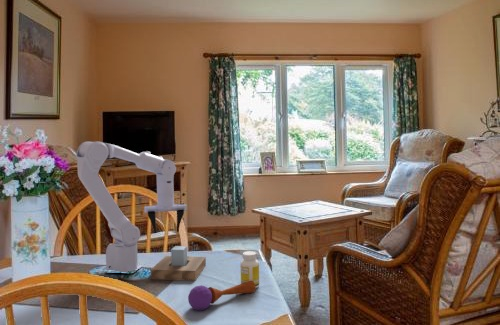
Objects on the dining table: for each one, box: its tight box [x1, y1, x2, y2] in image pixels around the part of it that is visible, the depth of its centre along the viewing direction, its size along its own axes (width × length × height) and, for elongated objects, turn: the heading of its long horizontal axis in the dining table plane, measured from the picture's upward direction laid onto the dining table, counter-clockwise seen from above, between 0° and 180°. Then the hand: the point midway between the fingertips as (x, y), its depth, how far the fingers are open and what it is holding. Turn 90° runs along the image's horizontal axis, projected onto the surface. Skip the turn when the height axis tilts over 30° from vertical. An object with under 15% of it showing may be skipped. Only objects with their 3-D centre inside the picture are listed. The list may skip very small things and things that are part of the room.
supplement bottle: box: [240, 250, 260, 289], centre depth 115 cm, size 5×5×10 cm
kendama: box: [187, 281, 257, 311], centre depth 105 cm, size 6×6×20 cm
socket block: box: [150, 255, 207, 282], centre depth 128 cm, size 14×14×3 cm
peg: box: [170, 245, 188, 266], centre depth 127 cm, size 4×4×8 cm
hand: (166, 231), depth 139 cm, fingers open, 7 cm apart
